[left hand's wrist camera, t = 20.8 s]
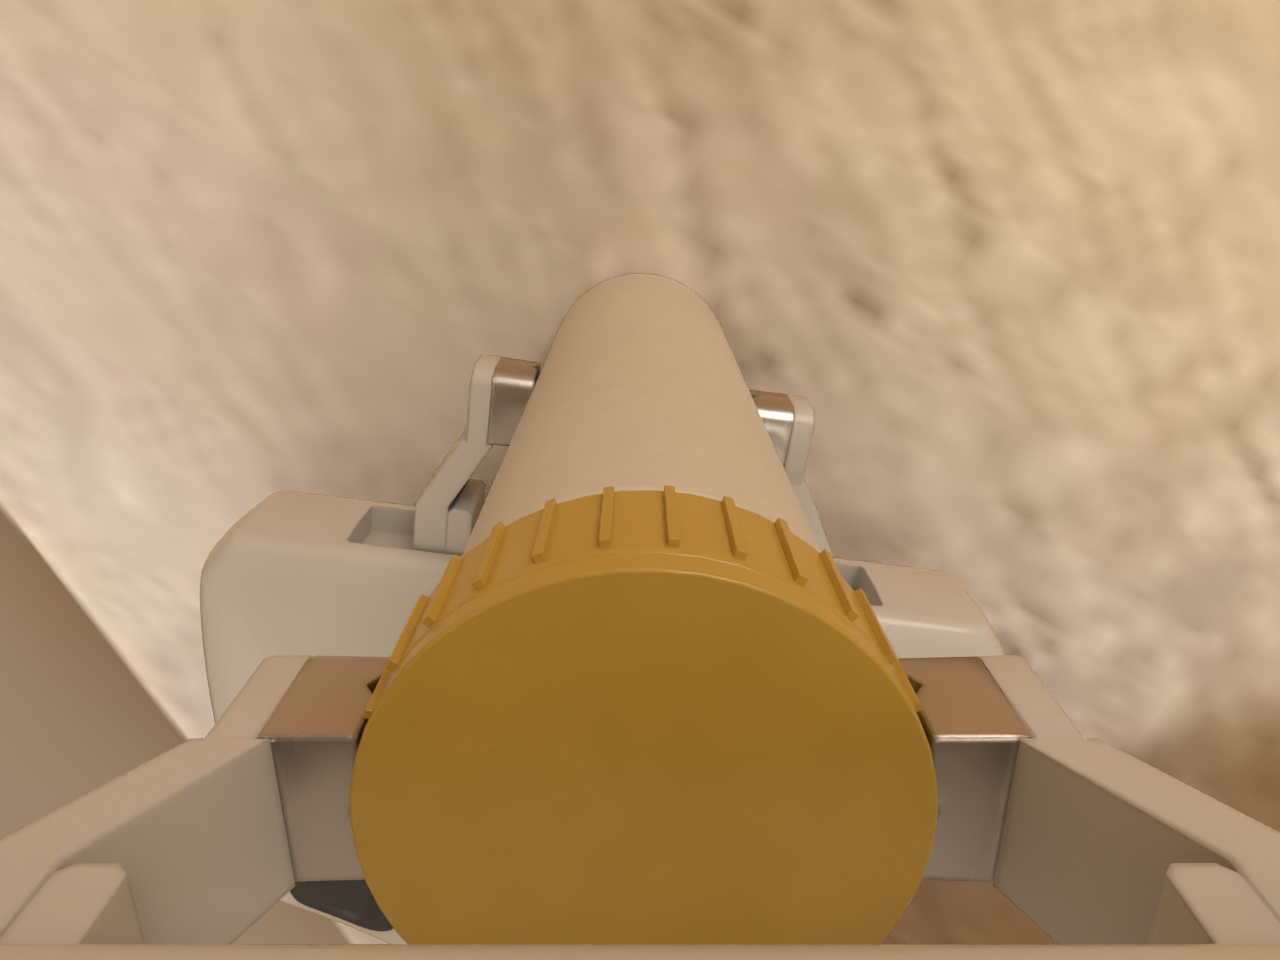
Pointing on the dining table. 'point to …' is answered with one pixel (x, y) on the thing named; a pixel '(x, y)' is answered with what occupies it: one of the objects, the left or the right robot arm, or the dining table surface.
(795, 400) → the right robot arm
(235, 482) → the dining table surface
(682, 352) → the jar
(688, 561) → the lid
